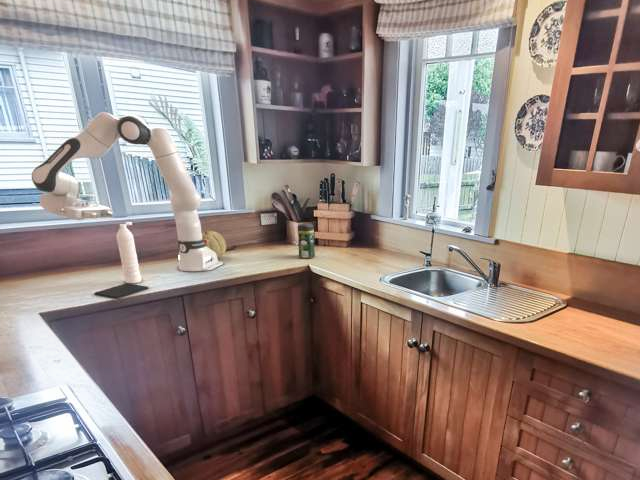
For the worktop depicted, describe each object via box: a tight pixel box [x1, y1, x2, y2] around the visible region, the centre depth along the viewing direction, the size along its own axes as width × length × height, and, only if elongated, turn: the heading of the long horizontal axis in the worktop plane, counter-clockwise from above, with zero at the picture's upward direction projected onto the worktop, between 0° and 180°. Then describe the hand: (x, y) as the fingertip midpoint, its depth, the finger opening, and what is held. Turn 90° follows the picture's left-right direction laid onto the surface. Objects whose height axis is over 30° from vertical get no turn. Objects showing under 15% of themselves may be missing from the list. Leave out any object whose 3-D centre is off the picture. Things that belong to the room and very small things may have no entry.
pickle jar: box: [297, 222, 316, 260], centre depth 257 cm, size 10×8×19 cm
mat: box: [94, 282, 149, 299], centre depth 194 cm, size 16×12×1 cm
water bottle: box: [116, 221, 142, 284], centre depth 203 cm, size 9×6×25 cm
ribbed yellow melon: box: [202, 230, 227, 259], centre depth 247 cm, size 15×15×15 cm
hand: (104, 215), depth 199 cm, fingers open, 8 cm apart
